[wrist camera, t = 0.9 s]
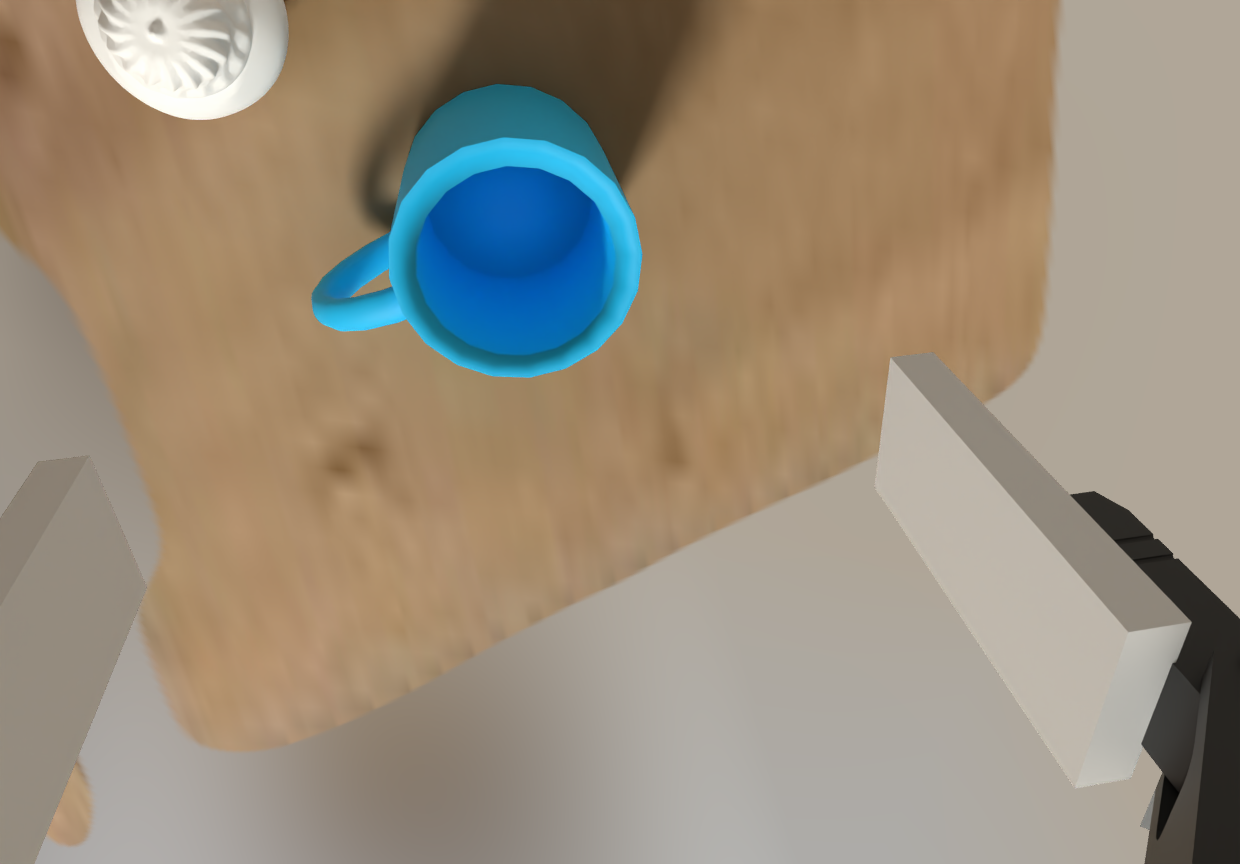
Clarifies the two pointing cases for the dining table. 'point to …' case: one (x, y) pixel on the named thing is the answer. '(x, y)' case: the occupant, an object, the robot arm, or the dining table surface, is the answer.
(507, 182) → the mug
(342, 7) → the dining table surface
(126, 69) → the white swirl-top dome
